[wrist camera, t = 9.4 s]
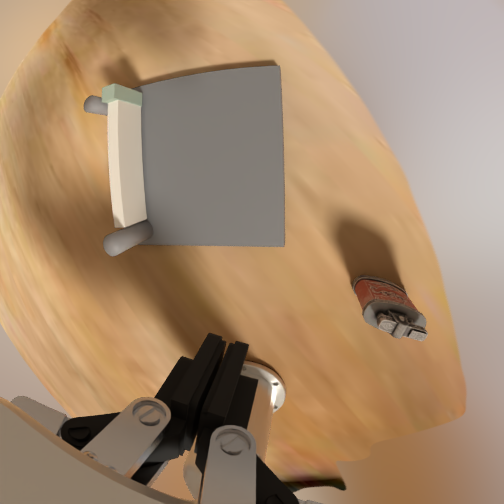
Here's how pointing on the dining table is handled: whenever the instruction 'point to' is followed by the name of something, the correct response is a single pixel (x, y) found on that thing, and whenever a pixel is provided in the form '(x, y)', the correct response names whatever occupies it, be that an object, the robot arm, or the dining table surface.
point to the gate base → (209, 161)
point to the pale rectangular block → (125, 154)
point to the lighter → (389, 308)
